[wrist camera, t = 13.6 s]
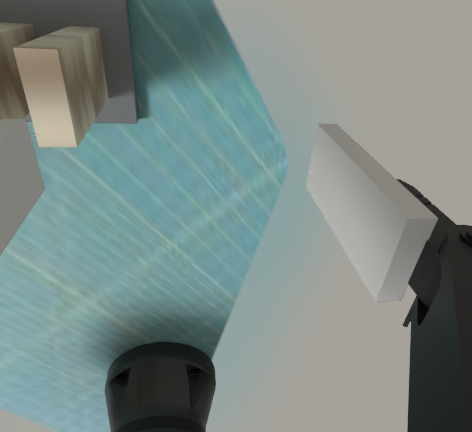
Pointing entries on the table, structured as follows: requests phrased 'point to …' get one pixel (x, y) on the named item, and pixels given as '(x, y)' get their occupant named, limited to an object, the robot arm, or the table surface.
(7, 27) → the domino
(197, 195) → the table surface
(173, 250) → the table surface
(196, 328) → the table surface
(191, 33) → the table surface
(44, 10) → the domino board
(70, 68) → the domino
